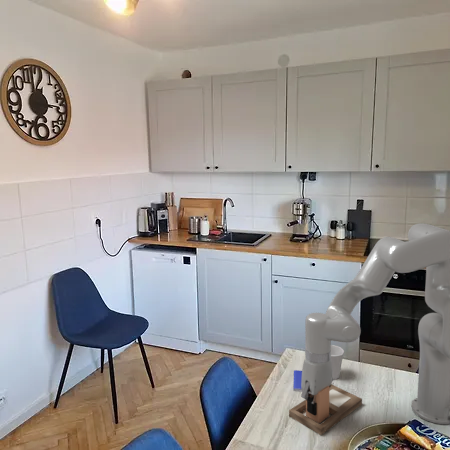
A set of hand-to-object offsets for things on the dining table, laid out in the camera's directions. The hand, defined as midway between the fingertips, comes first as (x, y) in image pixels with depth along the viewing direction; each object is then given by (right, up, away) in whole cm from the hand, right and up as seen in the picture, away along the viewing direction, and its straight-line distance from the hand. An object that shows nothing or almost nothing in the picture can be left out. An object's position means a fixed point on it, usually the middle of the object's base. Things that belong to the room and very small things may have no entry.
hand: (317, 408), depth 122 cm
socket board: (+4, -2, +4) cm, 6 cm away
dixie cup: (+11, +1, +24) cm, 26 cm away
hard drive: (0, 0, +20) cm, 20 cm away
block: (0, -2, 0) cm, 3 cm away
